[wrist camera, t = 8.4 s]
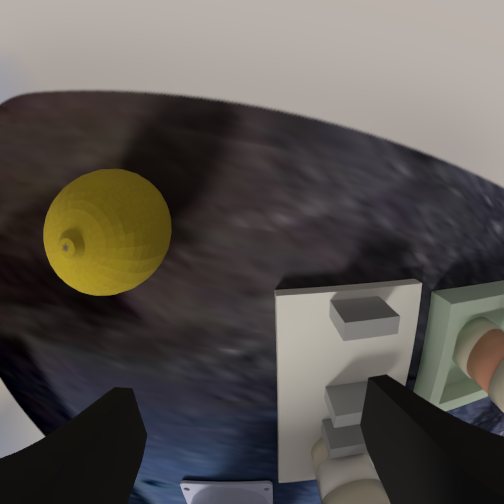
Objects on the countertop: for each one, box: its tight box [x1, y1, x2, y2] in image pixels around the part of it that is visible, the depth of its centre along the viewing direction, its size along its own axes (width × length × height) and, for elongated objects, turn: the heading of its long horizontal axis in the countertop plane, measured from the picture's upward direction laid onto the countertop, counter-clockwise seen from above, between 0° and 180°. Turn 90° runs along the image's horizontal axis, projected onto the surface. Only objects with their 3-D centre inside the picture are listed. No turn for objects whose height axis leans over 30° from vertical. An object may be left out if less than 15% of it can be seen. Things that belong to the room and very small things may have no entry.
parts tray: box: [413, 280, 504, 411], centre depth 18 cm, size 9×9×2 cm
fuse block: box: [275, 279, 422, 503], centre depth 18 cm, size 17×9×4 cm, turn 3°
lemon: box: [44, 169, 171, 295], centre depth 13 cm, size 6×6×8 cm
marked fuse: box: [452, 317, 504, 413], centre depth 15 cm, size 4×4×7 cm
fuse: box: [311, 437, 391, 504], centre depth 17 cm, size 4×4×7 cm
